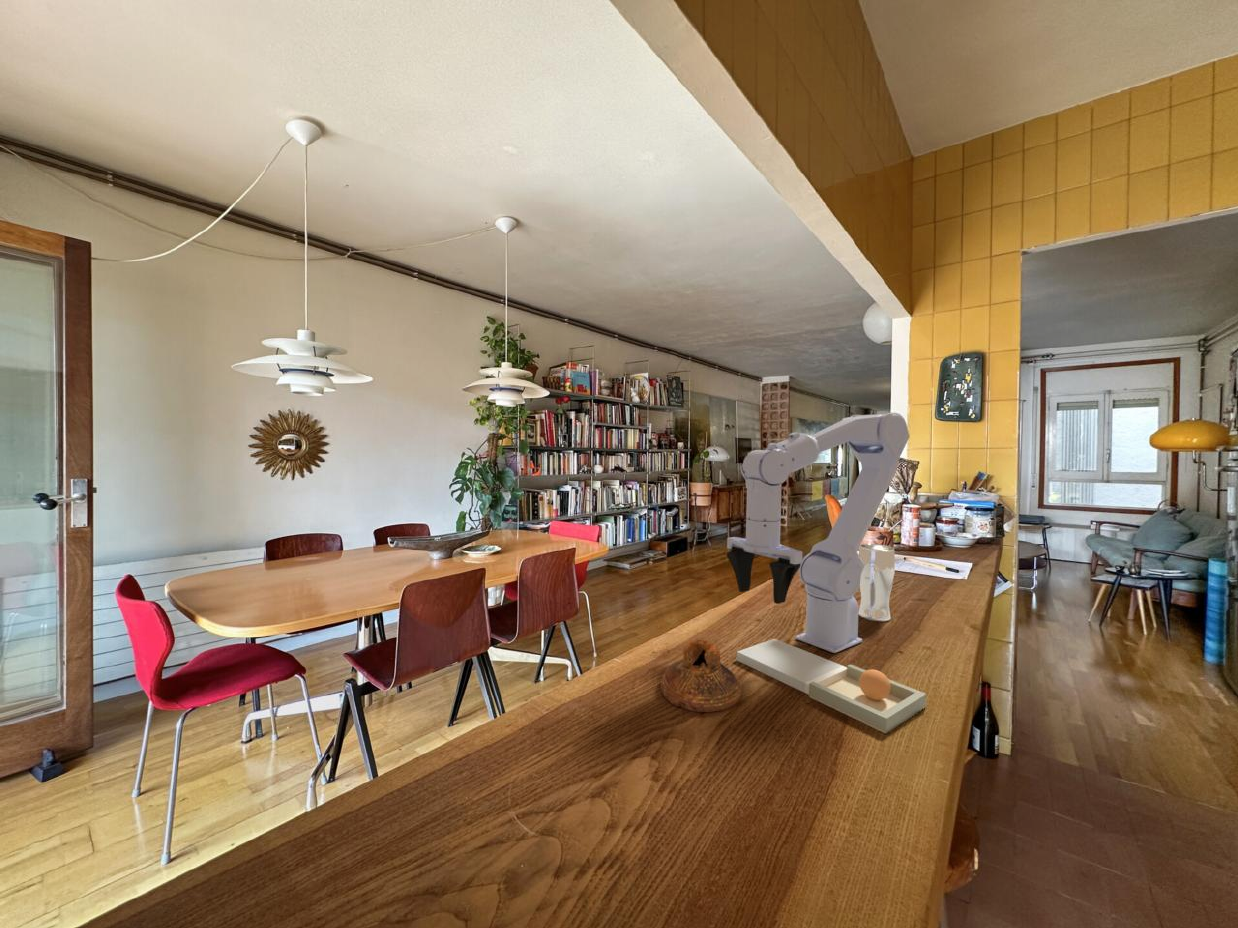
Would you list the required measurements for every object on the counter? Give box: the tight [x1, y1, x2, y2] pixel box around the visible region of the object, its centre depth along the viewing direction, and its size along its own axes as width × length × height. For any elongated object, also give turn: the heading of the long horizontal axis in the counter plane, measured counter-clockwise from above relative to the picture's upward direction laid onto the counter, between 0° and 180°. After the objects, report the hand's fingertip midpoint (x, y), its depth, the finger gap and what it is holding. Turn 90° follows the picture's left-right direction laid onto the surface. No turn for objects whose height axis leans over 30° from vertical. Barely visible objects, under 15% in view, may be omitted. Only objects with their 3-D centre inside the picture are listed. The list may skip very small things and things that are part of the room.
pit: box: [808, 663, 927, 735], centre depth 70 cm, size 11×11×2 cm
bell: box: [660, 639, 742, 713], centre depth 73 cm, size 12×12×7 cm
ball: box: [859, 668, 890, 700], centre depth 71 cm, size 4×4×4 cm
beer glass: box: [858, 543, 896, 622], centre depth 105 cm, size 7×7×15 cm
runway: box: [736, 638, 847, 696], centre depth 80 cm, size 10×14×2 cm
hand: (761, 596), depth 86 cm, fingers open, 7 cm apart
